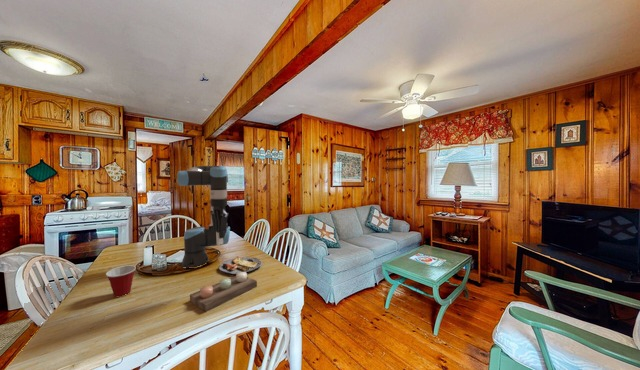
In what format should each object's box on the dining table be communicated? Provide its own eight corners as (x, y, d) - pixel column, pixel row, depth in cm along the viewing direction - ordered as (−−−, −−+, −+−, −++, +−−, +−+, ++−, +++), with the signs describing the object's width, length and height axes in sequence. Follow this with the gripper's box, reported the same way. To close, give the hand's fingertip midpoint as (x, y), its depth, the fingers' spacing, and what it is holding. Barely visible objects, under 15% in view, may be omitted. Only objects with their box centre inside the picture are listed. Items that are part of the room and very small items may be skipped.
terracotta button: (198, 295, 98) (198, 289, 98) (209, 291, 102) (209, 284, 102) (203, 299, 95) (203, 292, 95) (215, 294, 100) (214, 287, 99)
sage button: (217, 287, 106) (217, 281, 106) (227, 283, 110) (227, 277, 110) (223, 290, 103) (223, 284, 103) (233, 286, 107) (233, 280, 107)
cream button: (234, 280, 113) (234, 274, 113) (242, 276, 117) (242, 271, 117) (240, 283, 110) (240, 277, 110) (248, 279, 114) (248, 273, 114)
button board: (190, 301, 100) (189, 294, 100) (240, 279, 121) (240, 273, 121) (205, 312, 92) (205, 305, 92) (256, 286, 113) (256, 280, 113)
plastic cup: (102, 303, 99) (101, 276, 98) (111, 291, 108) (110, 267, 108) (133, 296, 104) (132, 271, 103) (139, 286, 113) (138, 263, 113)
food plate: (210, 270, 133) (210, 264, 133) (240, 257, 153) (241, 252, 153) (240, 280, 121) (240, 273, 121) (268, 265, 142) (269, 260, 142)
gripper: (204, 197, 112) (205, 243, 113) (219, 200, 104) (220, 249, 106) (218, 196, 118) (219, 239, 119) (233, 198, 110) (234, 244, 112)
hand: (219, 244), depth 113 cm, fingers closed
